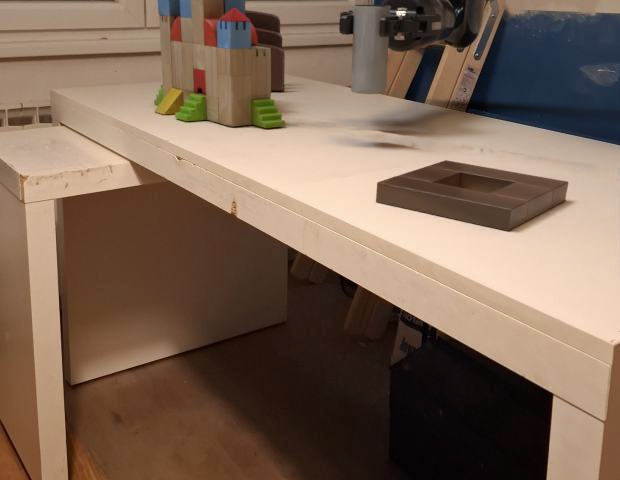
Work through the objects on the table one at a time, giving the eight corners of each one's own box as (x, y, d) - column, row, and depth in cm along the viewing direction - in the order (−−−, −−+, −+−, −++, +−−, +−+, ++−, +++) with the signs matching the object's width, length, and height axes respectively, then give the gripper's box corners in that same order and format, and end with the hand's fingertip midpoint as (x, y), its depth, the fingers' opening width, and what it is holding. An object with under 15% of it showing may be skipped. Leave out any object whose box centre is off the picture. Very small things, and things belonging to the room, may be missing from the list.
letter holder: (181, 84, 151) (177, 7, 145) (279, 85, 154) (280, 10, 148) (180, 91, 142) (176, 9, 136) (284, 92, 145) (285, 12, 139)
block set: (303, 125, 113) (307, -17, 105) (222, 133, 105) (219, -20, 97) (207, 100, 133) (204, -21, 125) (133, 105, 125) (124, -24, 117)
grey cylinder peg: (346, 89, 100) (349, 4, 95) (379, 89, 101) (383, 4, 96) (356, 94, 96) (360, 5, 91) (390, 94, 97) (396, 6, 92)
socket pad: (443, 177, 86) (445, 159, 85) (565, 200, 78) (568, 181, 77) (375, 201, 75) (376, 182, 75) (508, 231, 68) (511, 209, 67)
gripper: (366, -10, 107) (311, -10, 94) (464, -7, 101) (420, -6, 88) (364, 47, 111) (310, 55, 97) (458, 52, 105) (415, 62, 91)
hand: (363, 26), depth 92 cm, fingers closed on grey cylinder peg, 4 cm apart
